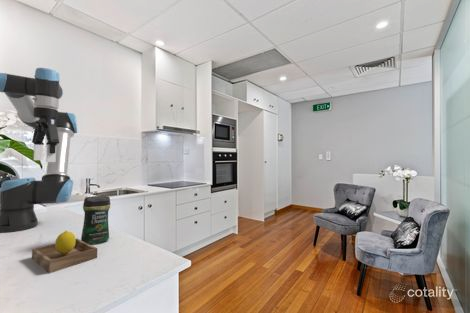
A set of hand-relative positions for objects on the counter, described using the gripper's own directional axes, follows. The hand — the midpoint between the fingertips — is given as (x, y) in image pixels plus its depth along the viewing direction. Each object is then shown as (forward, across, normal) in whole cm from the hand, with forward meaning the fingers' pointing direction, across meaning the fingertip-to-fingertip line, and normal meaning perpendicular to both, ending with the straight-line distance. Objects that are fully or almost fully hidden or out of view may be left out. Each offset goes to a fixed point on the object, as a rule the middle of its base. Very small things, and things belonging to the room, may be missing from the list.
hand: (44, 161), depth 90 cm
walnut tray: (+31, +26, -1) cm, 41 cm away
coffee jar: (+32, +18, +12) cm, 39 cm away
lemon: (+30, +26, -1) cm, 40 cm away
